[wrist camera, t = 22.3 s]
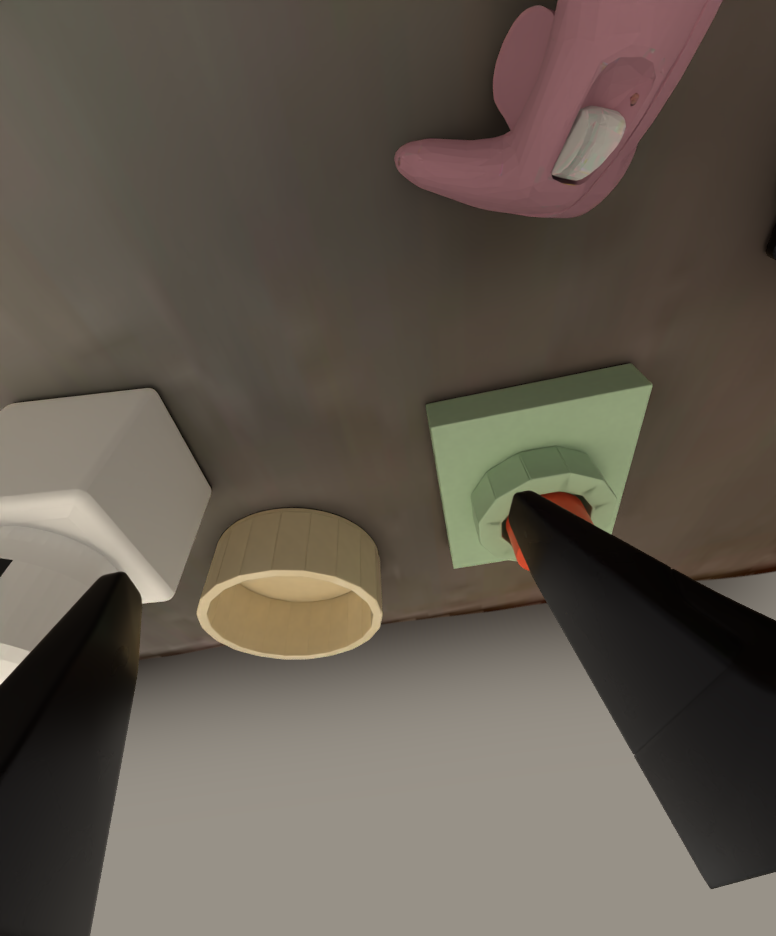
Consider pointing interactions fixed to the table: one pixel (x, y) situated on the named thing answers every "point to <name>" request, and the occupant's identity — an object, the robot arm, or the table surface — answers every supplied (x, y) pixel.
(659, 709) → the robot arm
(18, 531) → the medicine bottle
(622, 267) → the table surface
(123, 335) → the table surface
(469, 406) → the stop button base
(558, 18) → the video game controller
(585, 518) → the stop button
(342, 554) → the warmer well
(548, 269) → the table surface
